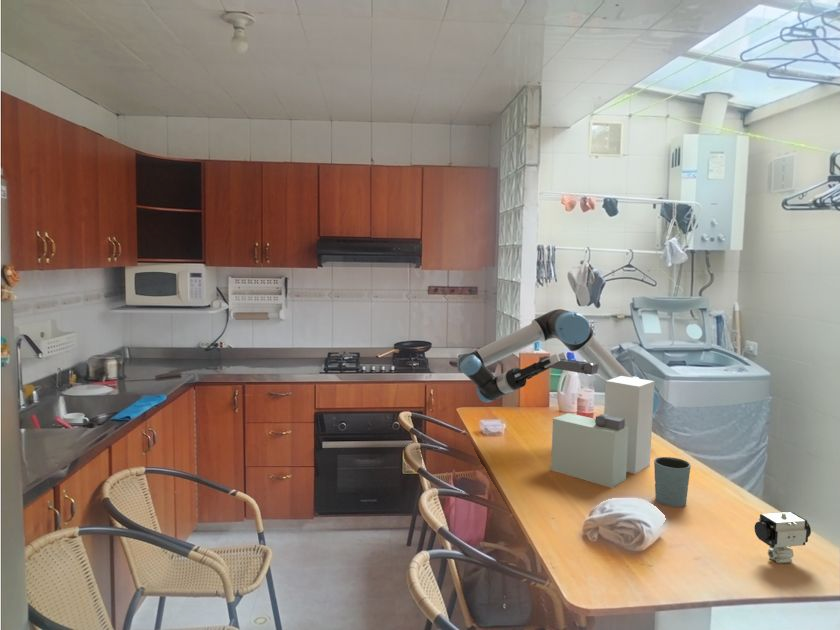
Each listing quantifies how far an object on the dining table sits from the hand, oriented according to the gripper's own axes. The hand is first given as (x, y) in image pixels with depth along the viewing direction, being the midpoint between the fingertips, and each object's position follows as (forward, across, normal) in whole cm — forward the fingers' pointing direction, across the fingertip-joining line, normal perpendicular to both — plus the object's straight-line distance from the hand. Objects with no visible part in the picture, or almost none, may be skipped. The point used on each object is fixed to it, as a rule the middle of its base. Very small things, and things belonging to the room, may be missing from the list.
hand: (561, 356), depth 203 cm
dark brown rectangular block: (0, 0, -5) cm, 5 cm away
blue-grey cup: (+15, +2, -53) cm, 55 cm away
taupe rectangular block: (-5, -18, -42) cm, 45 cm away
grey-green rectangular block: (-9, 0, -39) cm, 40 cm away
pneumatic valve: (+44, +18, -70) cm, 84 cm away
